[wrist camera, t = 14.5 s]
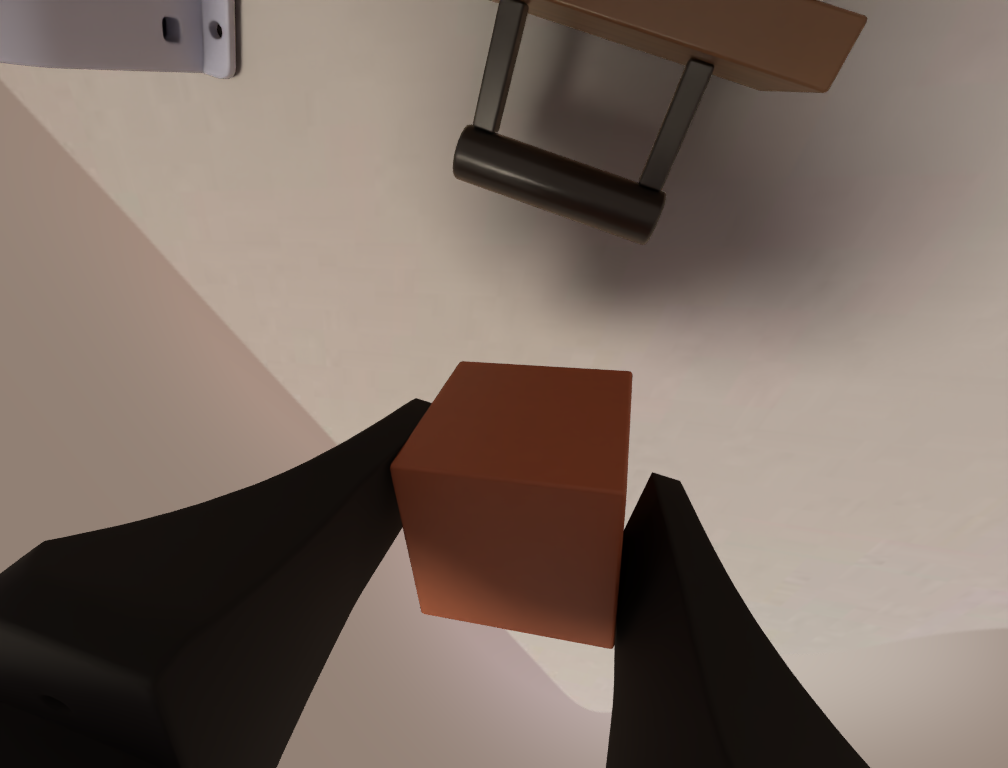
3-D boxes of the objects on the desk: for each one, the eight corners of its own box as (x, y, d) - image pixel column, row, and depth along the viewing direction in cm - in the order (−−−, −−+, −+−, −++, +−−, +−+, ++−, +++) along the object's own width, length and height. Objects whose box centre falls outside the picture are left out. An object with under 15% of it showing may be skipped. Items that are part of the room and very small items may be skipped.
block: (622, 506, 13) (614, 651, 10) (474, 488, 14) (420, 615, 11) (632, 370, 11) (626, 493, 8) (459, 359, 12) (387, 466, 9)
